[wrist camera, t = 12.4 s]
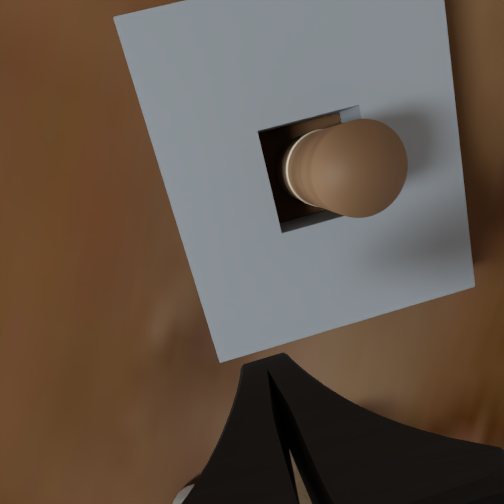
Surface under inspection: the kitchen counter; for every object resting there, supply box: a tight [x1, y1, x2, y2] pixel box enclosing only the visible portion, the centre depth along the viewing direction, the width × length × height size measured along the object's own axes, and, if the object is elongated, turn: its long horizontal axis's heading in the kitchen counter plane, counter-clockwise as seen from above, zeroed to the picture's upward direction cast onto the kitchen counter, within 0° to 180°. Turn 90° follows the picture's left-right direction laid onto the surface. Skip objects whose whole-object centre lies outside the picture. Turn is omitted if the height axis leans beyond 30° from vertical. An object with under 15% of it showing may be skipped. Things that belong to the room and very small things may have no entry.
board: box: [113, 0, 475, 363], centre depth 19 cm, size 14×16×2 cm
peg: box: [276, 119, 408, 218], centre depth 17 cm, size 4×4×7 cm
